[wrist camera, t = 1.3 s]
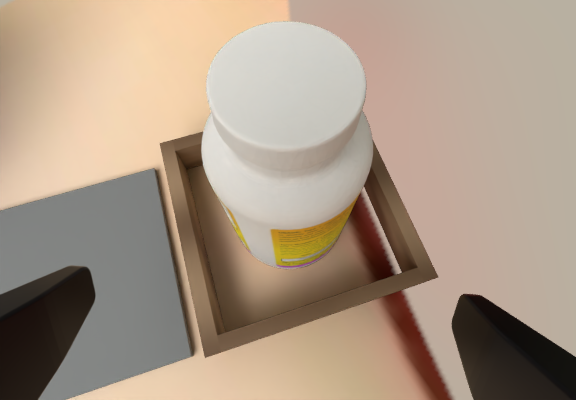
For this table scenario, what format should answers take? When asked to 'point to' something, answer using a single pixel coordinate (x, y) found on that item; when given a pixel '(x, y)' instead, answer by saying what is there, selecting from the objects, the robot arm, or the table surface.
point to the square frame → (211, 327)
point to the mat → (104, 277)
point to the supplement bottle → (287, 139)
